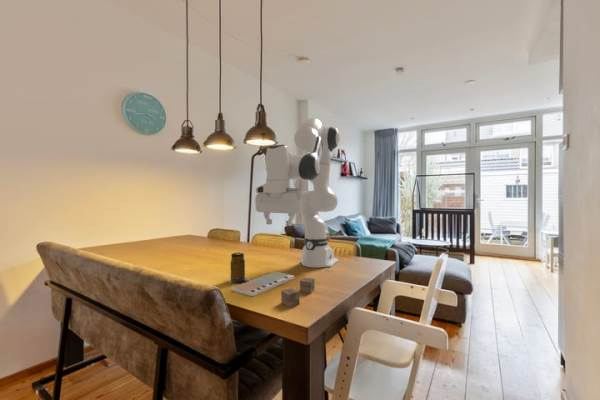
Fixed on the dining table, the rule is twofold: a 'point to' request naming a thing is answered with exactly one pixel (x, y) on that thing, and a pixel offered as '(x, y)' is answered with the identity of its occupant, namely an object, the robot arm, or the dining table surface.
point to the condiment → (238, 269)
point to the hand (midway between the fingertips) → (278, 224)
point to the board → (262, 283)
